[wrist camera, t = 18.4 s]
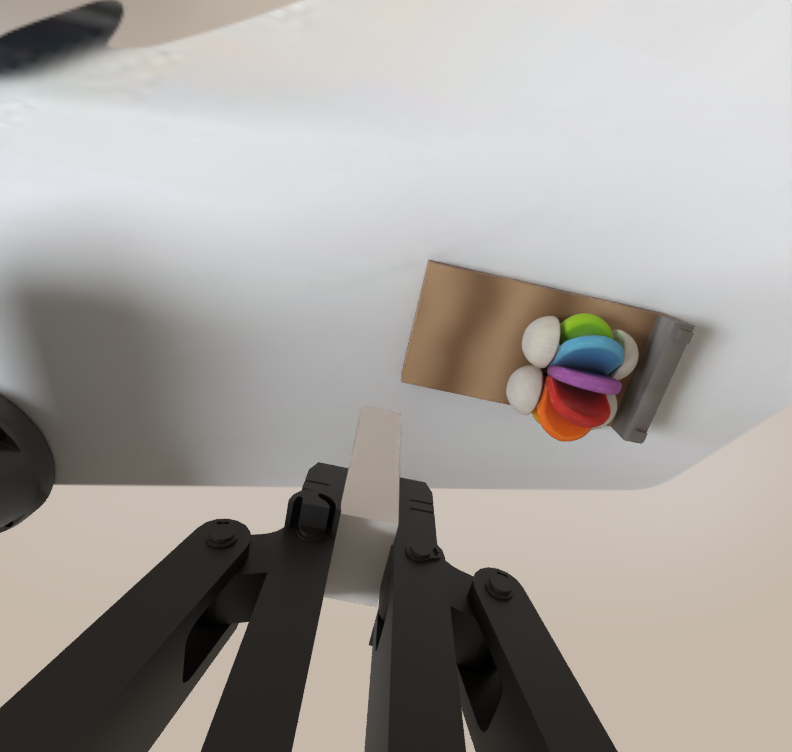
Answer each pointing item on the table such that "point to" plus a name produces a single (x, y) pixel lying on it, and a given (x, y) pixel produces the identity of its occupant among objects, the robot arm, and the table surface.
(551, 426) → the rainbow wooden ball puzzle
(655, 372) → the wooden display stand
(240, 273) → the table surface
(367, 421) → the robot arm
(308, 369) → the table surface
